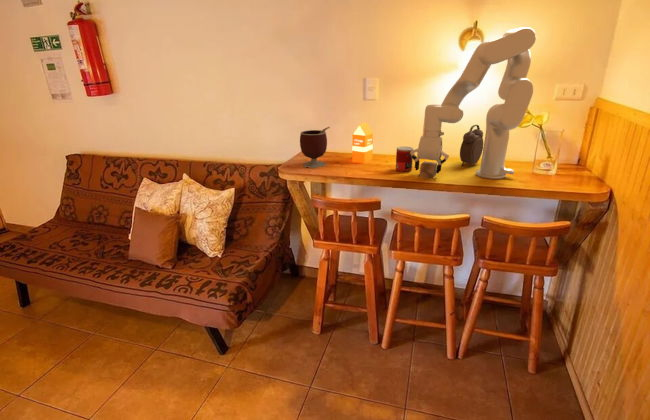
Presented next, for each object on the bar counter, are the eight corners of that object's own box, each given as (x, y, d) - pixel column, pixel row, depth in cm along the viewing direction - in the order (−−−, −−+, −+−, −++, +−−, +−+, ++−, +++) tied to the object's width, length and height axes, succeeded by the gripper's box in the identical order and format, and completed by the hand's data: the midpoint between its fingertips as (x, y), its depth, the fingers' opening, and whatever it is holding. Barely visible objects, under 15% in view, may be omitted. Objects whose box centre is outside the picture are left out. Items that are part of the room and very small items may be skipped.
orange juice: (352, 161, 190) (352, 123, 182) (360, 158, 196) (360, 121, 189) (364, 163, 185) (365, 125, 178) (372, 159, 192) (373, 122, 184)
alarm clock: (468, 160, 186) (473, 122, 178) (481, 163, 181) (487, 123, 173) (455, 166, 176) (460, 126, 169) (469, 169, 171) (475, 127, 164)
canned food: (407, 173, 167) (409, 150, 163) (392, 170, 172) (393, 148, 167) (414, 169, 173) (416, 147, 168) (399, 167, 177) (400, 145, 173)
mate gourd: (298, 168, 180) (296, 128, 172) (304, 161, 192) (302, 124, 184) (328, 169, 177) (327, 129, 169) (332, 162, 189) (331, 124, 182)
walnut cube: (436, 175, 164) (437, 162, 161) (432, 178, 159) (433, 166, 157) (423, 173, 167) (424, 161, 164) (419, 177, 162) (420, 164, 160)
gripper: (453, 134, 154) (448, 171, 161) (414, 130, 162) (411, 166, 169) (449, 137, 148) (444, 176, 155) (409, 133, 156) (406, 170, 163)
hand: (427, 171), depth 162 cm, fingers open, 9 cm apart
